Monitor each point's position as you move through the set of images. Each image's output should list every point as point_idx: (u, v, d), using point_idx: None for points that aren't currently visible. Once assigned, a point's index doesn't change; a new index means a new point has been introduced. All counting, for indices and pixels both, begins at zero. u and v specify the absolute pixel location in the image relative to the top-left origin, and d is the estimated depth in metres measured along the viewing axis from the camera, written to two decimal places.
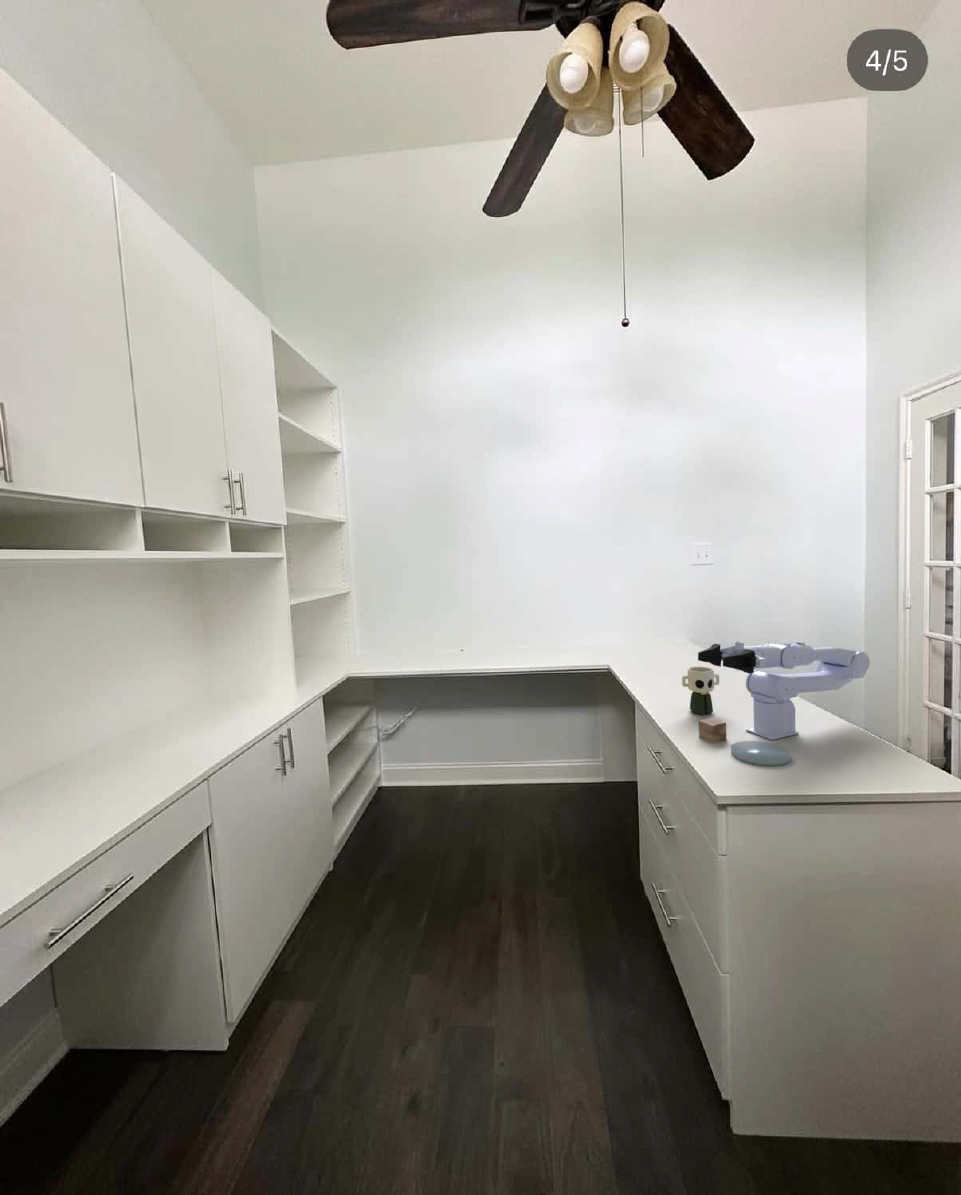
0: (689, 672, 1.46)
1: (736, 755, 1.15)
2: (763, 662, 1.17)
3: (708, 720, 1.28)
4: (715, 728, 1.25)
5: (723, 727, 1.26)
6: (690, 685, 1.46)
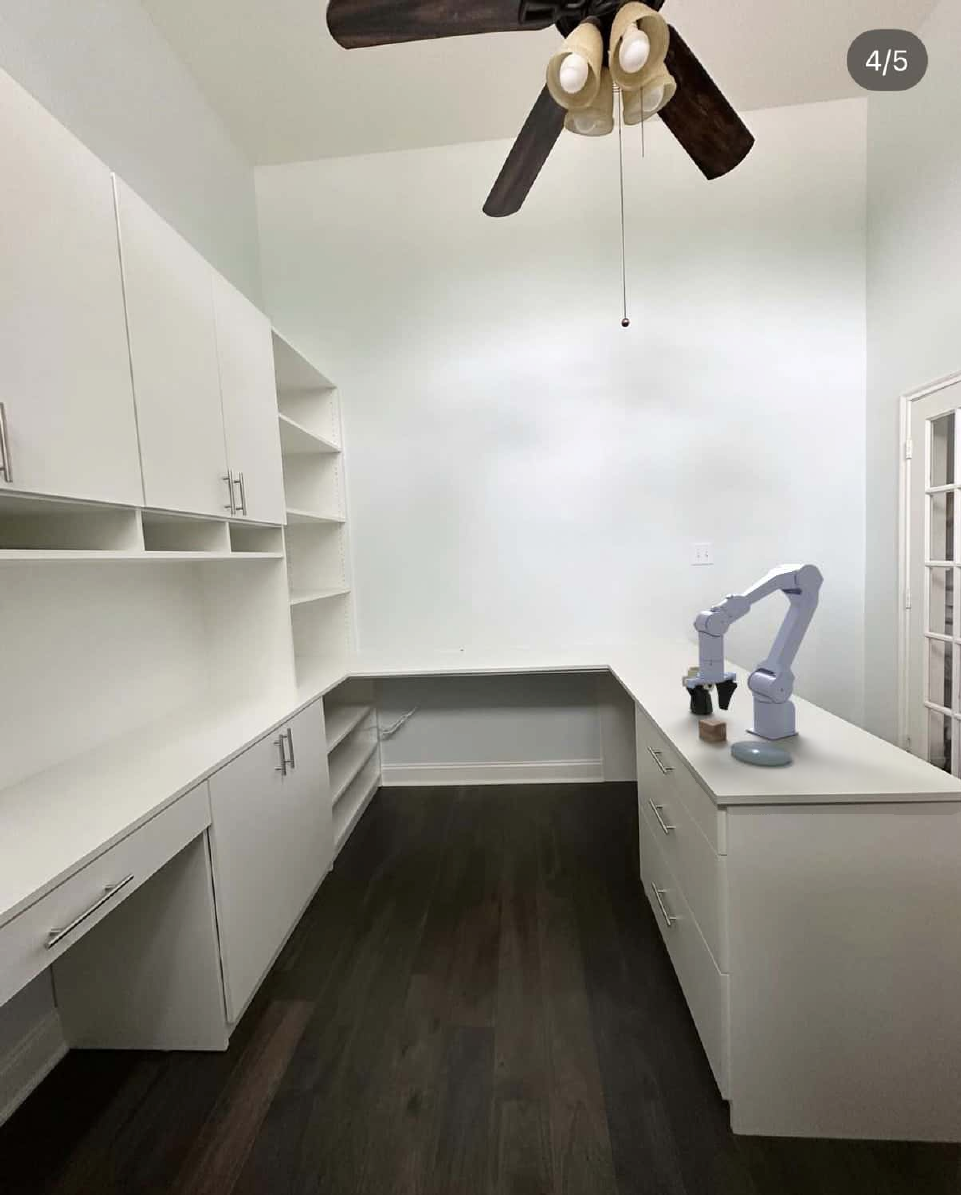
0: (689, 672, 1.46)
1: (736, 755, 1.15)
2: (688, 682, 1.24)
3: (708, 720, 1.28)
4: (715, 728, 1.25)
5: (723, 727, 1.26)
6: None
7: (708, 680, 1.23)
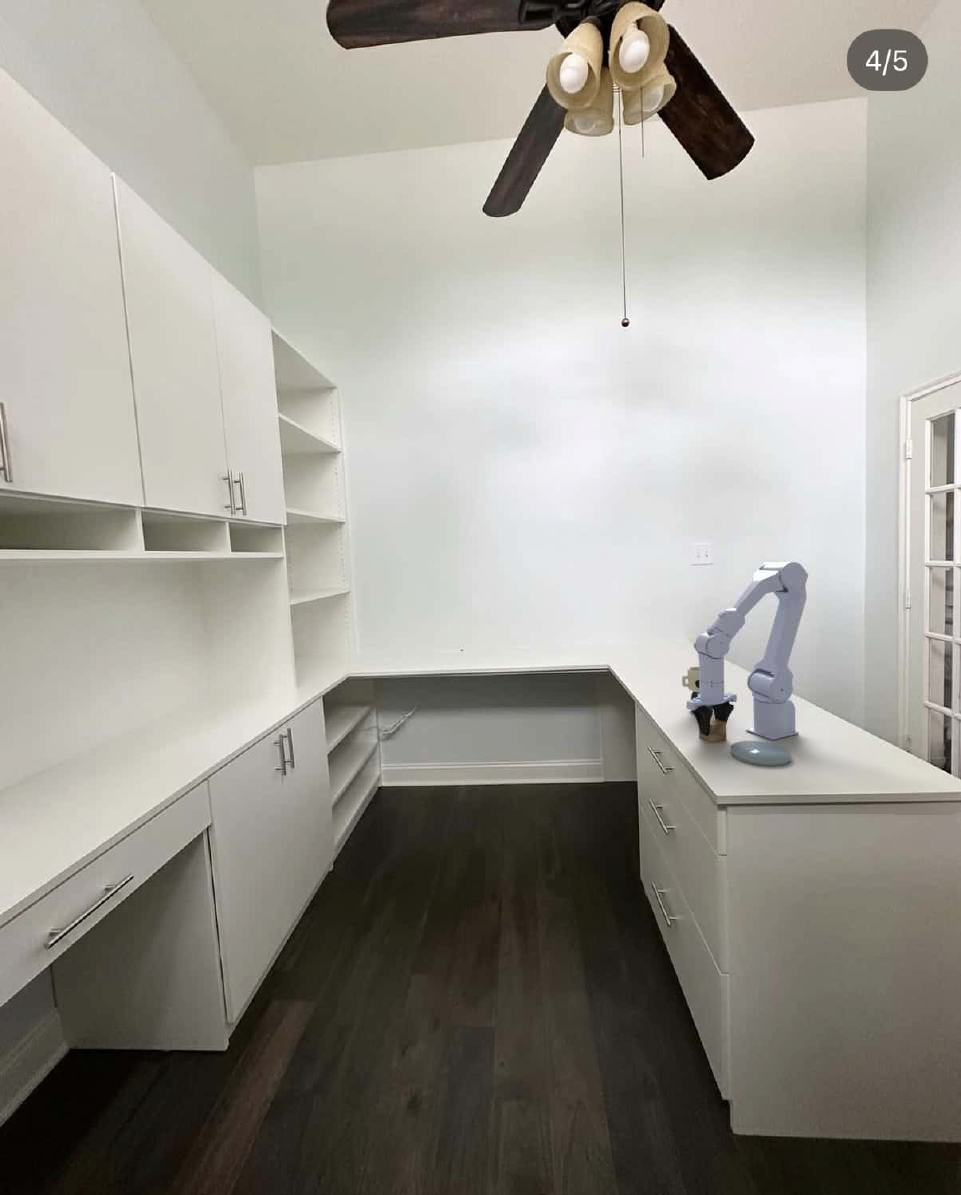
0: (689, 672, 1.46)
1: (736, 755, 1.15)
2: (688, 704, 1.24)
3: None
4: (715, 727, 1.25)
5: (723, 727, 1.26)
6: (690, 685, 1.46)
7: (708, 702, 1.24)
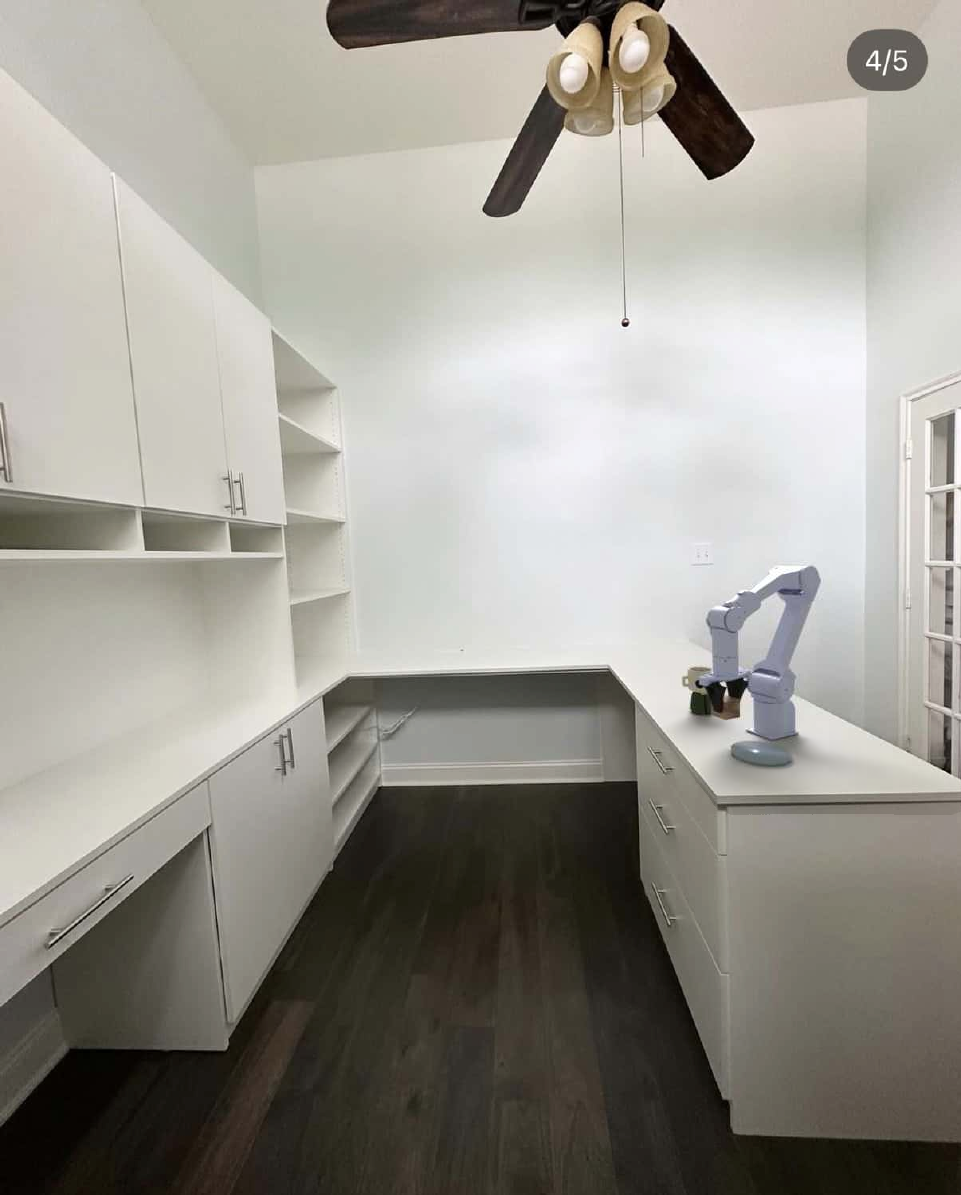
0: (689, 672, 1.46)
1: (736, 755, 1.15)
2: (701, 680, 1.20)
3: None
4: (728, 704, 1.21)
5: (737, 704, 1.21)
6: (690, 685, 1.46)
7: (722, 677, 1.19)
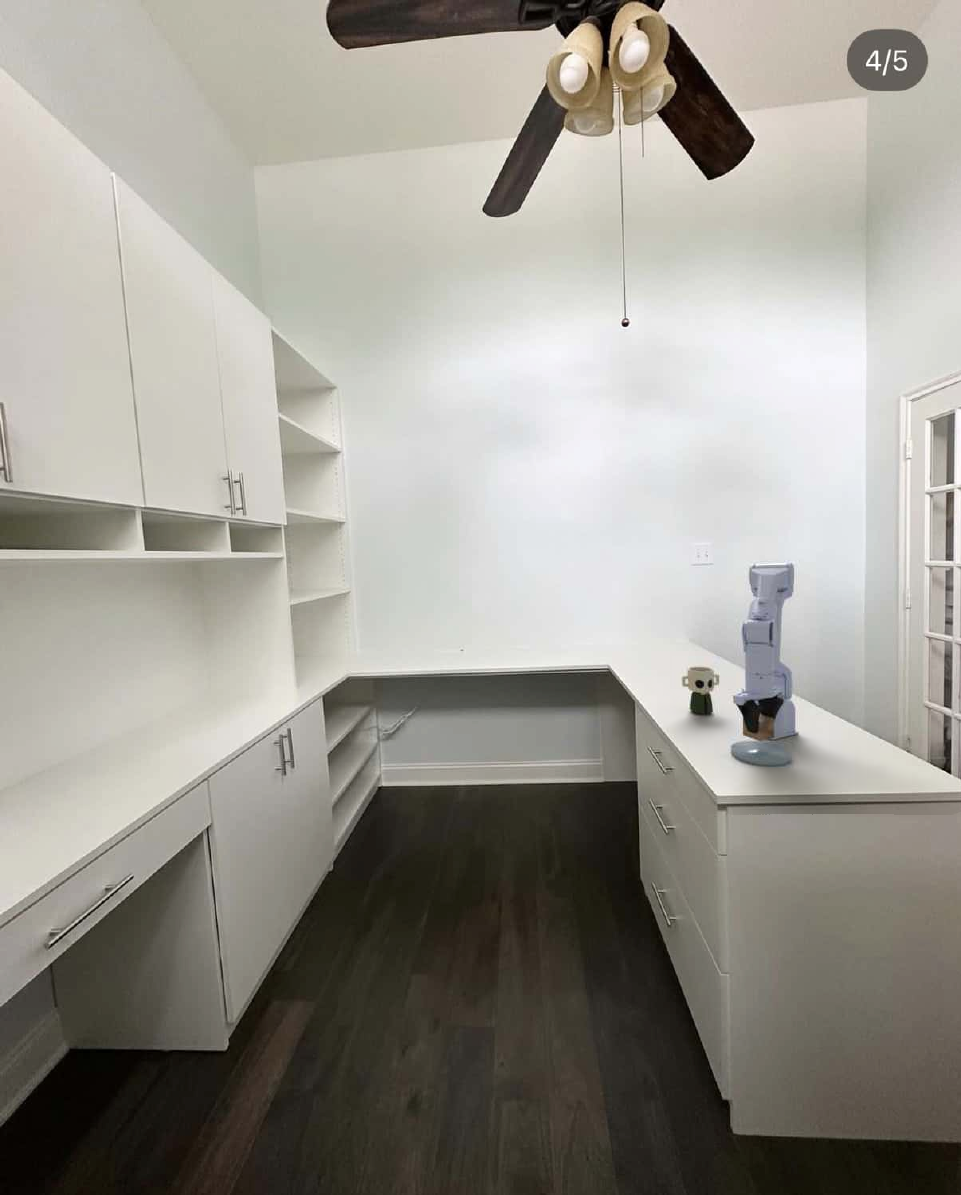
0: (689, 672, 1.46)
1: (736, 755, 1.15)
2: (736, 699, 1.12)
3: None
4: (763, 724, 1.13)
5: (771, 723, 1.14)
6: (690, 685, 1.46)
7: (758, 696, 1.11)
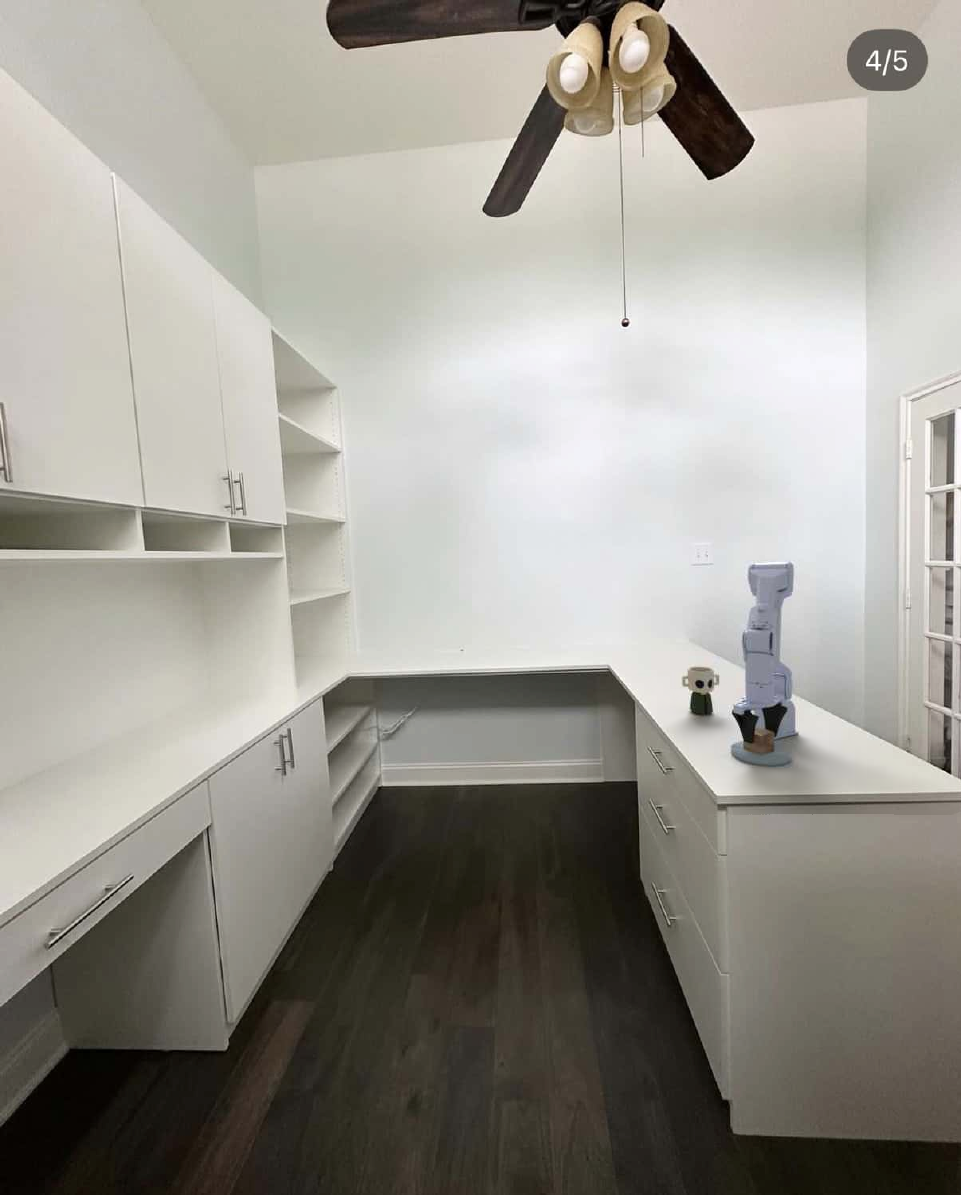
0: (689, 672, 1.46)
1: (736, 755, 1.15)
2: (736, 708, 1.12)
3: None
4: (763, 738, 1.13)
5: (771, 737, 1.14)
6: (690, 685, 1.46)
7: (758, 705, 1.11)
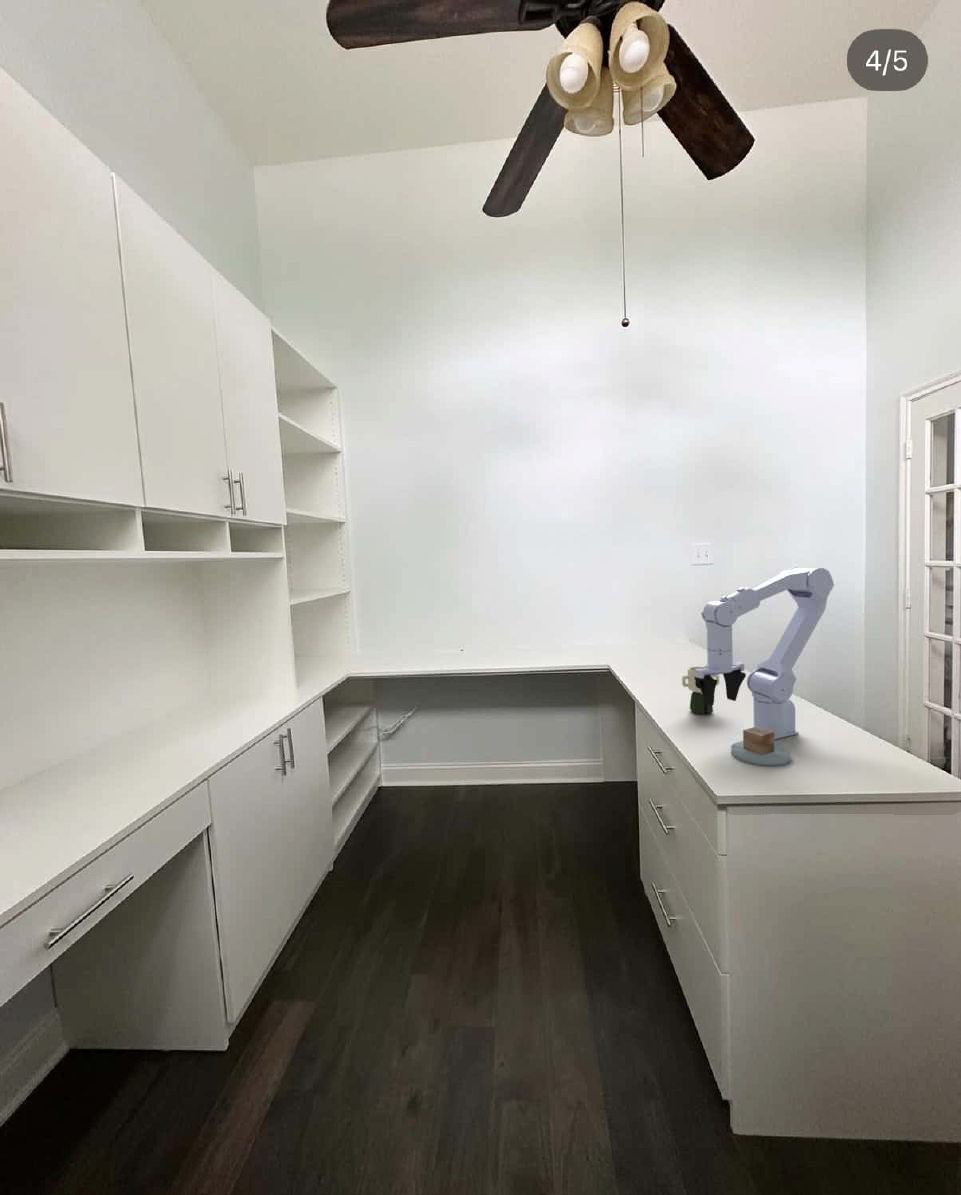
0: (689, 672, 1.46)
1: (736, 755, 1.15)
2: (697, 673, 1.23)
3: (753, 729, 1.17)
4: (763, 738, 1.13)
5: (771, 737, 1.14)
6: (690, 685, 1.46)
7: (717, 670, 1.23)
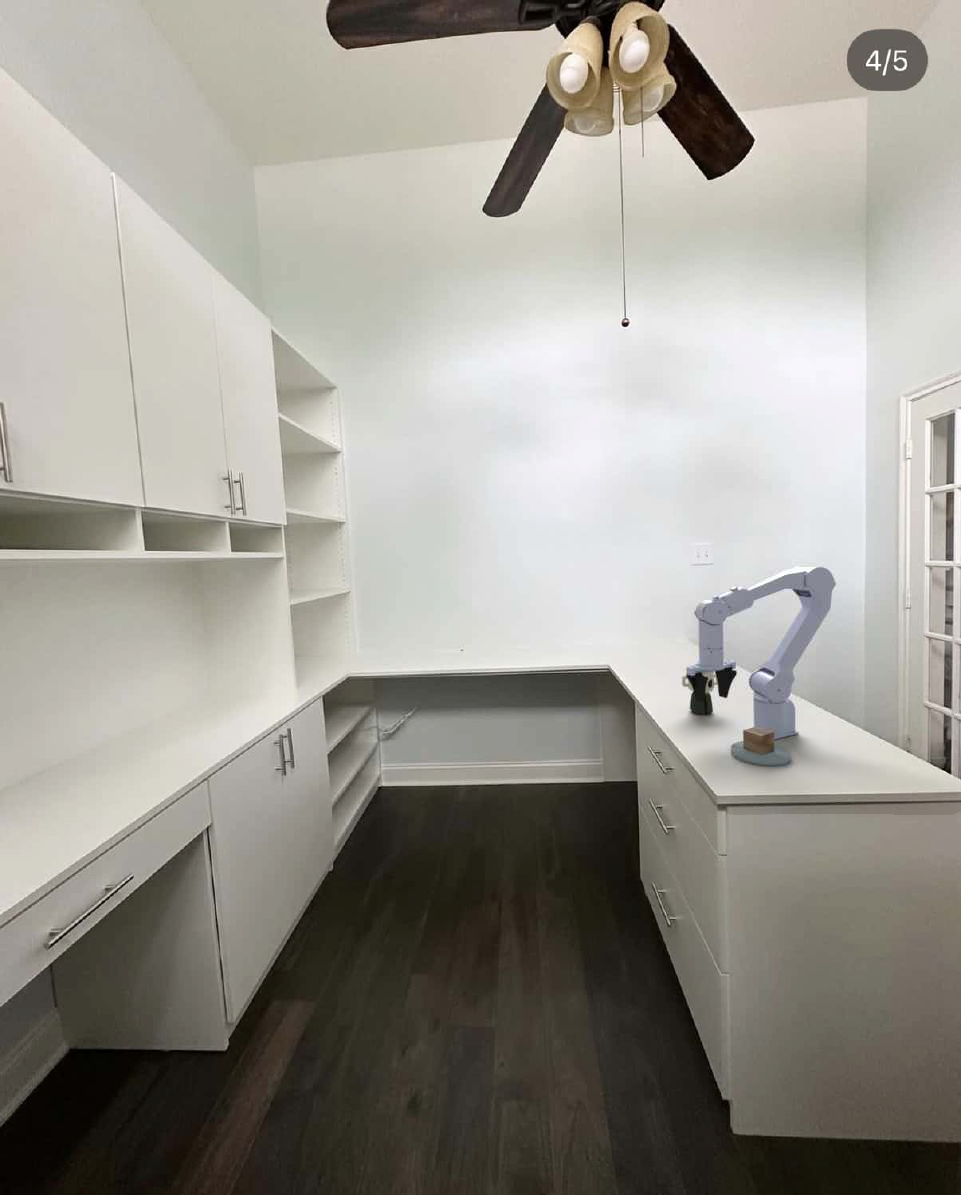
0: None
1: (736, 755, 1.15)
2: (688, 670, 1.26)
3: (753, 729, 1.17)
4: (763, 738, 1.13)
5: (771, 737, 1.14)
6: (690, 685, 1.46)
7: (708, 668, 1.25)
